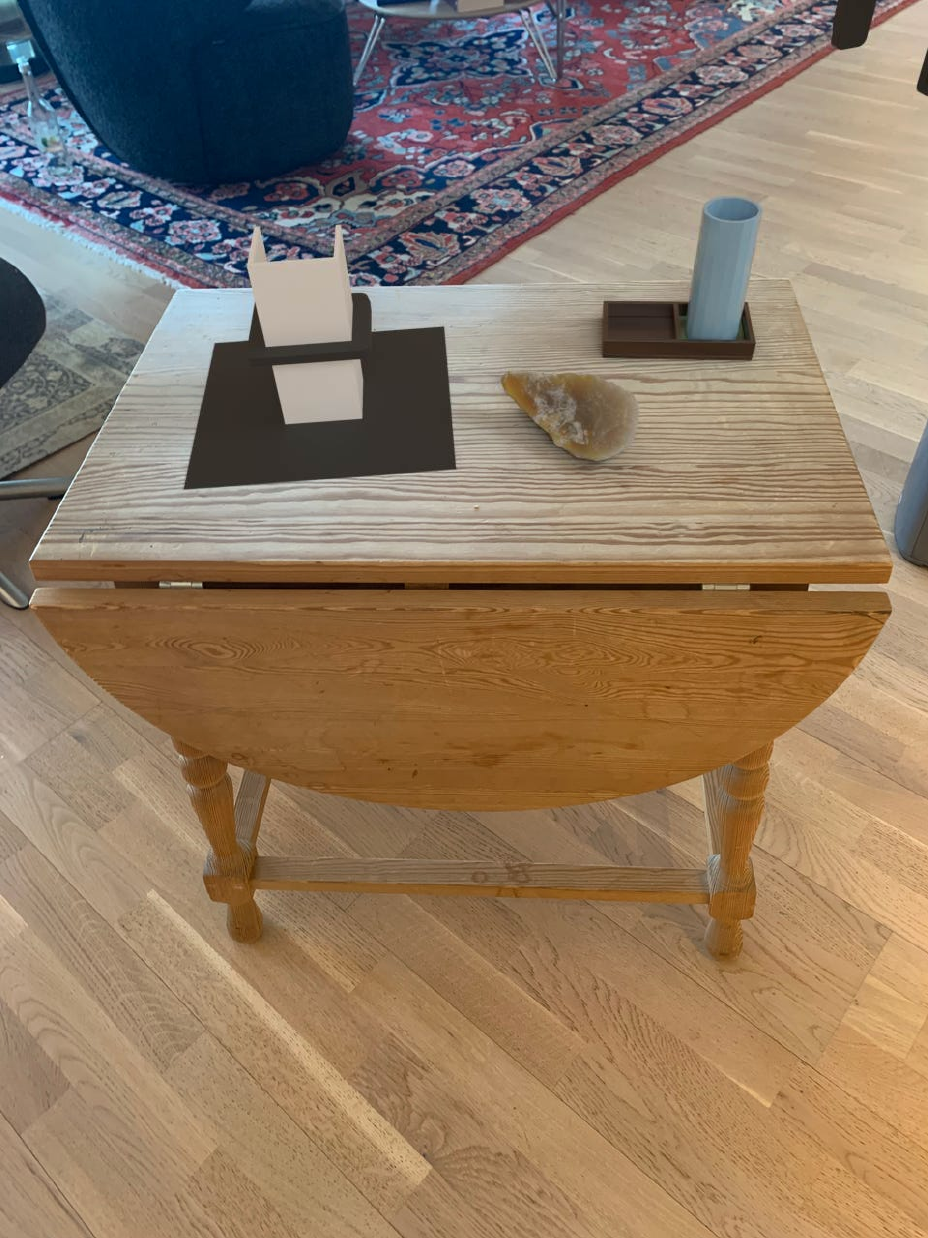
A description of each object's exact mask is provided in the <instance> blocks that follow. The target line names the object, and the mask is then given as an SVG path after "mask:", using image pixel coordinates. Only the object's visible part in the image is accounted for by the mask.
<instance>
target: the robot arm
mask: <svg viewBox="0 0 928 1238" xmlns="http://www.w3.org/2000/svg"><path fill="white" fill-rule="evenodd" d="M877 1H878V0H837V3H836V8H835V11H834V13H835V14H834V17H833V21H832V35H831V39H830V44H831V46H832V47H833V48H835V49H837V50H839V51H844V50H845V51H846V50H849V49H854V48H855V49H856V48H860V47H863V45H864V44H866V42H867V40H868V37H869V33H870V30H871V25H872V21H873V17H874V13H875V10H876V5H877ZM924 55H925V56H924V58H923V63H922V66H921V69H920V72H919V76H918V79H917V83H916V91H917V93H919V94H921V95H924V96H925V97H928V48H926V52H925V54H924Z"/></svg>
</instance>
